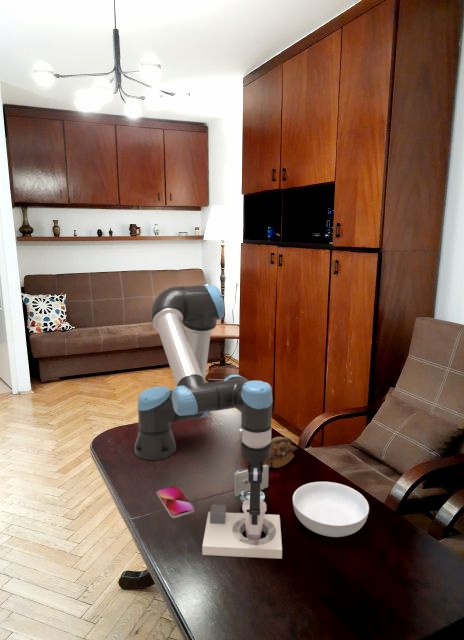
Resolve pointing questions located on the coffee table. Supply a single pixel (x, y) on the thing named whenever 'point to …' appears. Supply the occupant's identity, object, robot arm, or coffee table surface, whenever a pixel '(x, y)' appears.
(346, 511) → the serving bowl
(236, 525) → the dock plate
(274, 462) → the wooden carving
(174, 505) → the smartphone
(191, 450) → the coffee table surface
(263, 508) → the smoothie
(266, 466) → the cassette
